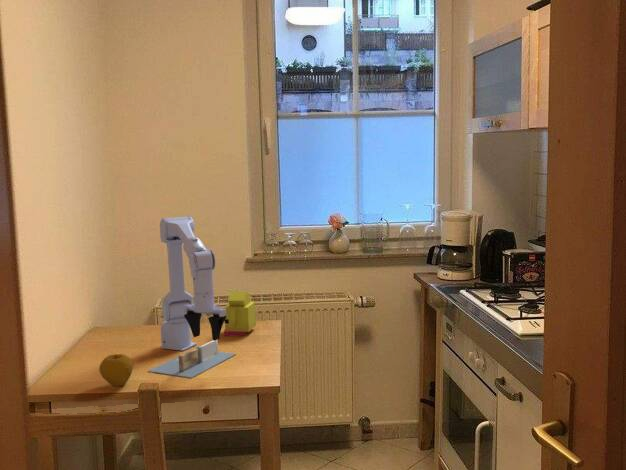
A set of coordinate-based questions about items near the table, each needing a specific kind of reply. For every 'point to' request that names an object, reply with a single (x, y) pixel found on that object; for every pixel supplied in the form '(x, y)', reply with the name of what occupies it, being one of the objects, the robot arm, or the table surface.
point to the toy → (239, 314)
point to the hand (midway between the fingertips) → (206, 337)
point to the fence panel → (188, 359)
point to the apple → (116, 369)
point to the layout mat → (193, 370)
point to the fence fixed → (207, 350)
